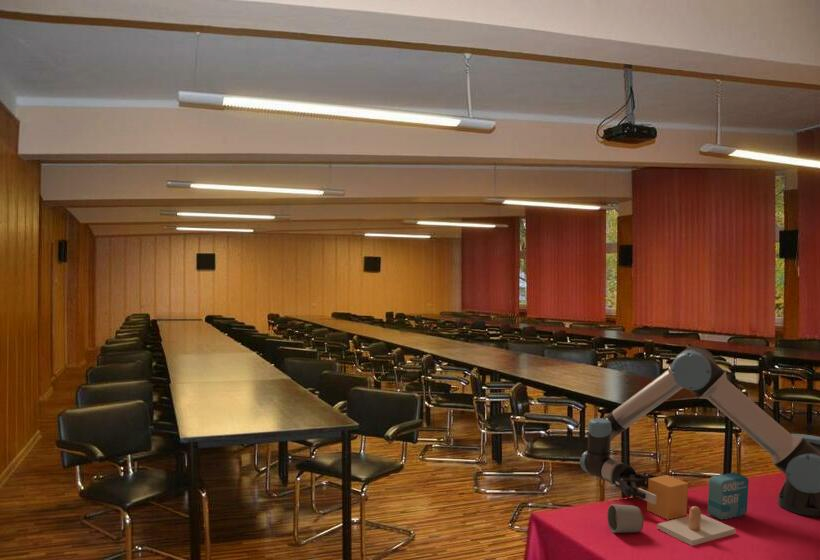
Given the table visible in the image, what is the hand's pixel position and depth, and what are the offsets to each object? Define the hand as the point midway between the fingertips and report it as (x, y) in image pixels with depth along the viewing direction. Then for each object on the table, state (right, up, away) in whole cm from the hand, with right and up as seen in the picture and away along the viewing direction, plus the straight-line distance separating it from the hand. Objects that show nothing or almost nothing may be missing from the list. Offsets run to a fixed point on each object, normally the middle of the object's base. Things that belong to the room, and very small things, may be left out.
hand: (671, 496), depth 206 cm
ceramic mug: (-18, -6, -11) cm, 22 cm away
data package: (+18, -6, +2) cm, 19 cm away
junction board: (+3, -7, -11) cm, 13 cm away
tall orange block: (-1, -6, +2) cm, 6 cm away
